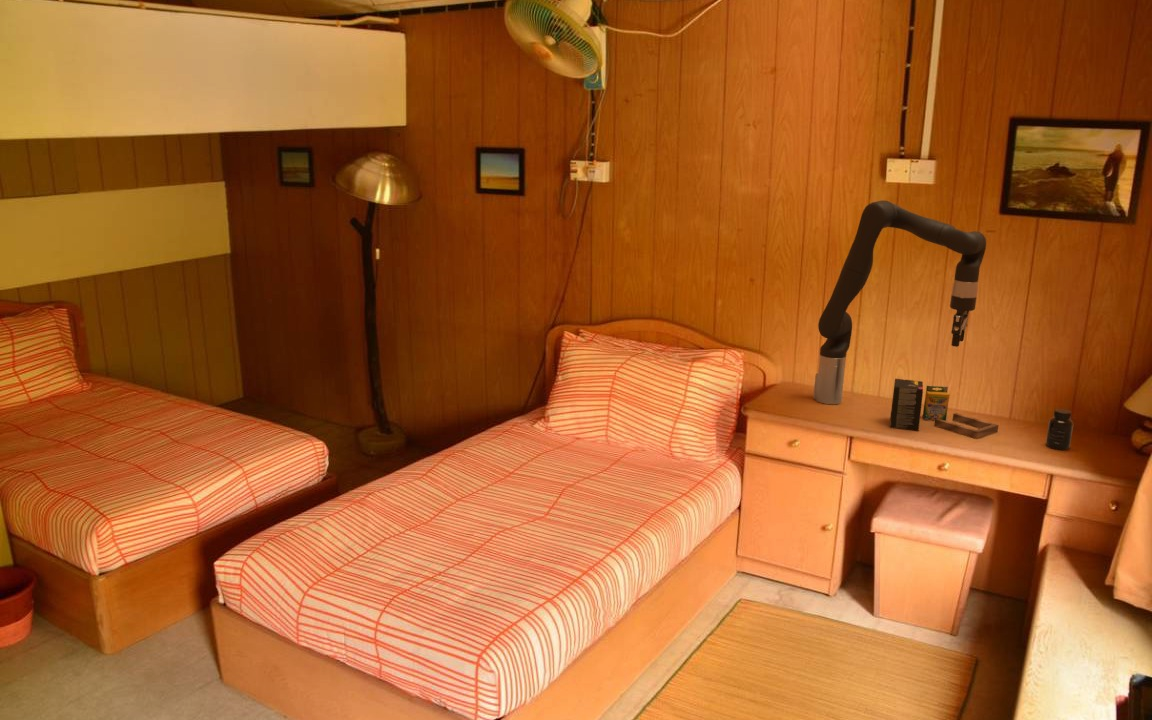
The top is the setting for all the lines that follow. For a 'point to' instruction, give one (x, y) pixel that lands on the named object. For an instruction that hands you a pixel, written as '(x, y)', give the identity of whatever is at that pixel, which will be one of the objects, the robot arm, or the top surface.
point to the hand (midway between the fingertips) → (957, 343)
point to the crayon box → (936, 403)
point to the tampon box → (906, 404)
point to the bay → (984, 431)
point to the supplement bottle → (1060, 430)
